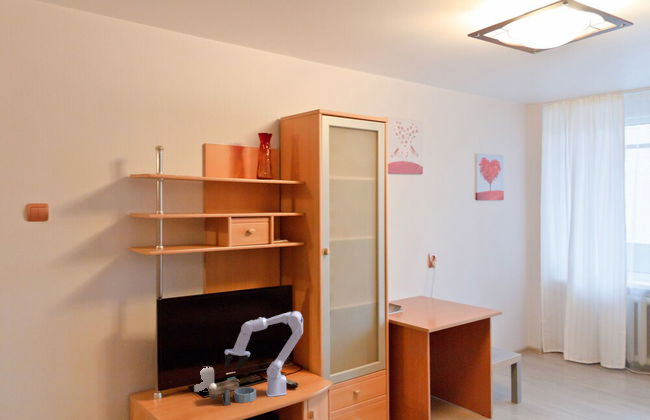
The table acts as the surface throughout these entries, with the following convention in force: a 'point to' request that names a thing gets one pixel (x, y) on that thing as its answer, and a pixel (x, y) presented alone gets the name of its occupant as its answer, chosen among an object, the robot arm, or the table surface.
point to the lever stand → (226, 397)
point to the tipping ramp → (223, 387)
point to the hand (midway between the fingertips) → (231, 367)
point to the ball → (212, 386)
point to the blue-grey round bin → (245, 394)
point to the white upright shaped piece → (205, 379)
